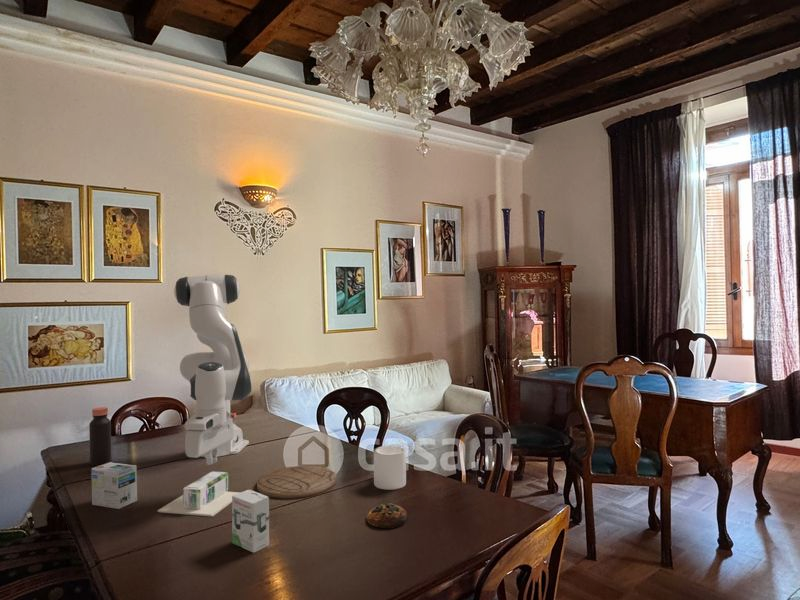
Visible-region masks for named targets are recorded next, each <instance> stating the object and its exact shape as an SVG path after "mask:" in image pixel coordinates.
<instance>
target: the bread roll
mask: <svg viewBox="0 0 800 600" xmlns="http://www.w3.org/2000/svg"><path fill="white" fill-rule="evenodd" d="M407 518H408V514H407V511H406V510H405V509H404V508H403V507H402V506H400V505H397V504H394V503H390V502H389V503H382V504H380V505H379V506H376V507H373V508H372V509H370V511H369V512H368V513H367V515H366V520H367V521H366V522H368V523H369V525H370V526H372V527H376V528H379V529H395V528H399V527H402V526H403V525H405V523H406V522H407Z"/></svg>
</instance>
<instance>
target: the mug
mask: <svg viewBox="0 0 800 600" xmlns="http://www.w3.org/2000/svg"><path fill="white" fill-rule="evenodd" d="M406 454H407V452H406V448H405V447H402V446H400V445H382V446H378V447H376V448H374V450H373V485H374V487H376V488H377V489H381V490H398V489H401V488H404V487H405V486H406V484H407V466H406V465H407V463H406V462H407V461H406V460H407V459H406V458H407V457H406V456H407V455H406Z"/></svg>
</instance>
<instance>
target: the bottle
mask: <svg viewBox="0 0 800 600" xmlns="http://www.w3.org/2000/svg"><path fill="white" fill-rule="evenodd" d="M91 412H92V413H91V414H92V415H91V416H92V417H93V418H92V420H91V421H90V422H89V424H88V425H89V426H88V427H89V464H90V466H95V467H98V466H101V465H104V464H107V463H109V462H112V421H111V420H110V419H109V418H108V414H109V407H106V406H103V407H101V406H100V407H95V408H92V410H91Z"/></svg>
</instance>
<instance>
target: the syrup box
mask: <svg viewBox="0 0 800 600" xmlns="http://www.w3.org/2000/svg"><path fill="white" fill-rule="evenodd" d="M182 490H183V494H182V495H183V507H184V508H193V509H201V508H203V507H204V506H206V505H207V504H208V503H210V502H211V501H213V500H214V499H216V498H217V497H219V496H220V495H222V494H223V493H225V492H229V491H228V490H229V472H225V471H210V472H208V473H207V474H205V475H203V476H202V477H200V478H198V479H197V480H195V481H193V482H192V483H190V484H188V485H186V486H184V487H183V489H182Z"/></svg>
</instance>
